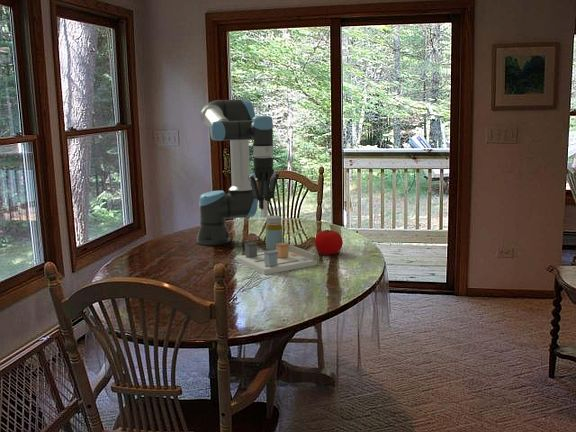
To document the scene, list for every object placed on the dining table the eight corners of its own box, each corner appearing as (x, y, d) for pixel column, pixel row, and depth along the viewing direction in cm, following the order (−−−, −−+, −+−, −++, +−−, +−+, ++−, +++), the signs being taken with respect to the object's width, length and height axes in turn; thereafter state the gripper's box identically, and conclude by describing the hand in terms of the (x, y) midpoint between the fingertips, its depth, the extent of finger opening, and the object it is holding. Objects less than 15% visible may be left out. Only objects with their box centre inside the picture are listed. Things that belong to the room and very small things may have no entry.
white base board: (236, 261, 244) (235, 250, 243) (286, 252, 257) (286, 242, 256) (264, 274, 225) (264, 263, 224) (316, 265, 238) (316, 254, 237)
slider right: (264, 264, 231) (264, 251, 230) (272, 262, 233) (272, 249, 232) (269, 266, 228) (269, 253, 226) (277, 265, 229) (277, 251, 228)
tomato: (324, 249, 262) (324, 225, 260) (347, 252, 256) (347, 229, 254) (309, 255, 253) (309, 230, 251) (332, 259, 246) (333, 234, 244)
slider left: (244, 255, 244) (244, 243, 243) (252, 254, 246) (252, 241, 245) (249, 257, 241) (248, 245, 240) (257, 256, 243) (257, 243, 242)
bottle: (280, 252, 257) (280, 218, 254) (264, 252, 258) (264, 218, 255) (283, 248, 264) (283, 215, 261) (268, 248, 265) (267, 215, 262)
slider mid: (275, 256, 243) (275, 243, 242) (283, 254, 245) (283, 242, 244) (280, 258, 239) (280, 245, 238) (288, 256, 241) (288, 244, 240)
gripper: (253, 158, 223) (254, 220, 228) (282, 156, 230) (283, 216, 235) (243, 157, 230) (245, 217, 234) (272, 154, 236) (273, 213, 241)
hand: (264, 216), depth 235 cm, fingers closed
